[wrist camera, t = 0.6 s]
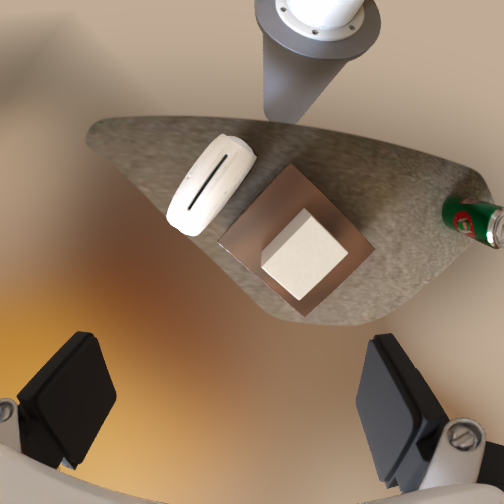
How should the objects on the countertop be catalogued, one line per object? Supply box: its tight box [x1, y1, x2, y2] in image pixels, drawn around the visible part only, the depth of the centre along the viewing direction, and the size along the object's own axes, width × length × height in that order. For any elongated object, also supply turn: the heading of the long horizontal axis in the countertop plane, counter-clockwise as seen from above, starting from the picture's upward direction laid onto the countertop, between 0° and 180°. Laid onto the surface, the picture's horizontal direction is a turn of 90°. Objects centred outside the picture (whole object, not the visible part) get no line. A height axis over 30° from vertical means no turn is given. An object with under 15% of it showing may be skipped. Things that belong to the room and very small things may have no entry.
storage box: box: [217, 163, 375, 317], centre depth 34 cm, size 13×11×6 cm
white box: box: [261, 208, 348, 300], centre depth 29 cm, size 5×6×5 cm
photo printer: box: [167, 133, 257, 236], centre depth 30 cm, size 10×4×12 cm, turn 144°
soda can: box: [442, 195, 504, 249], centre depth 29 cm, size 5×5×12 cm
